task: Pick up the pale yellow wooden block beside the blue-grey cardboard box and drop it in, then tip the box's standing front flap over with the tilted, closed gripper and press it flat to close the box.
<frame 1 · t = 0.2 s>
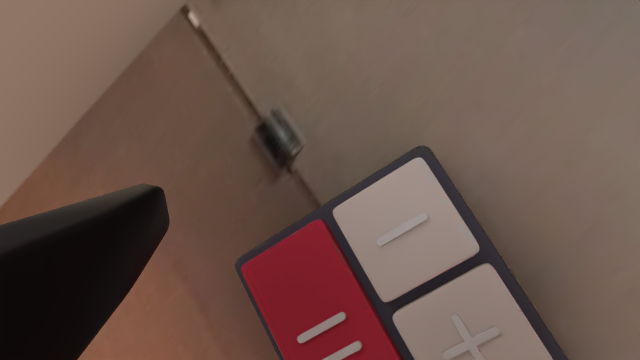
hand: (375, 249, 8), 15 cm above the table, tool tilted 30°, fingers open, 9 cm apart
calculator: (413, 333, 22), on the table
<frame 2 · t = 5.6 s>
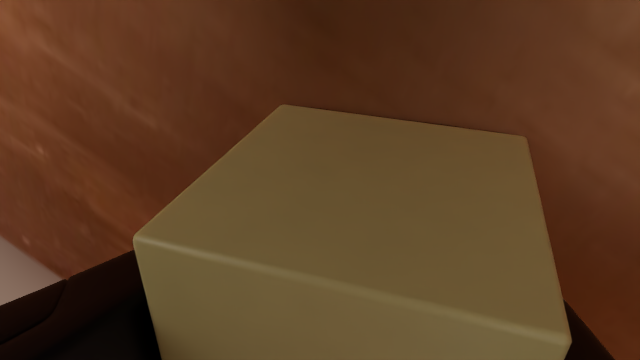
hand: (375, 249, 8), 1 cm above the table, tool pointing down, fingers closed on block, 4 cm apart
block: (384, 218, 9), on the table, touching gripper
when the fingers open (6 cm above the table, at t = 11.3 s): block stays where it is, resting on box.
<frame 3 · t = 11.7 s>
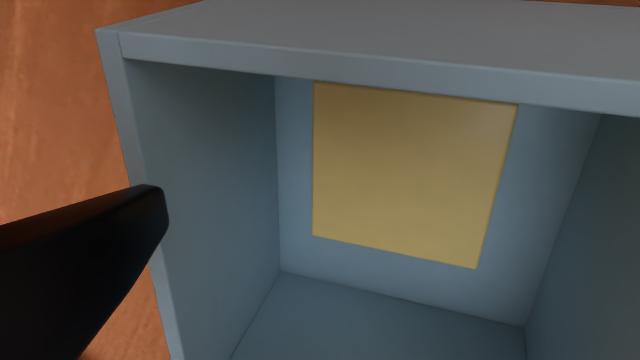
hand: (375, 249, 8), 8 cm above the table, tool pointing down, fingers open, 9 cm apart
box: (412, 175, 16), on the table
block: (419, 115, 14), resting on box
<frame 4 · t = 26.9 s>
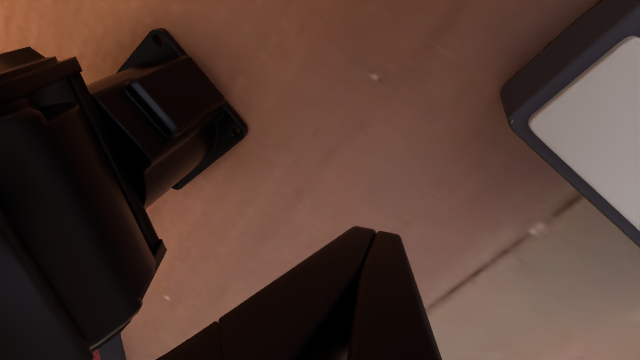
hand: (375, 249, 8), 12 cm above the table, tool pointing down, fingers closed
vhs cassette tape: (108, 322, 35), on the table
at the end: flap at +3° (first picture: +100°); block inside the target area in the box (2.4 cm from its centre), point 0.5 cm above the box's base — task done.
